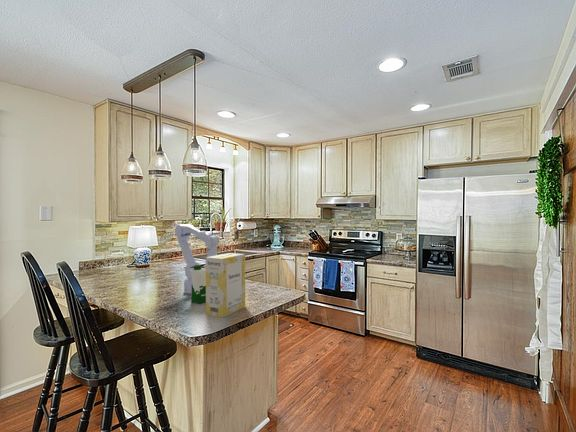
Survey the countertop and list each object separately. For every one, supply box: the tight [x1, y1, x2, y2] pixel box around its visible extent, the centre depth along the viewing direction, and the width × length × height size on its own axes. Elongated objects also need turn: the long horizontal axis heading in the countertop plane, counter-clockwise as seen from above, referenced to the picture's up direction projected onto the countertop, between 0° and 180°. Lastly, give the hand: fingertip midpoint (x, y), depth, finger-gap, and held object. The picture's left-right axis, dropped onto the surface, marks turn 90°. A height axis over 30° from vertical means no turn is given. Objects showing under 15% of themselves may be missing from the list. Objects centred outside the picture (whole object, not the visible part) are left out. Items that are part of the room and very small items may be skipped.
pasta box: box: [205, 252, 246, 318], centre depth 151 cm, size 18×10×28 cm, turn 152°
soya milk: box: [190, 264, 206, 305], centre depth 167 cm, size 9×9×20 cm
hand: (212, 278), depth 178 cm, fingers open, 3 cm apart
